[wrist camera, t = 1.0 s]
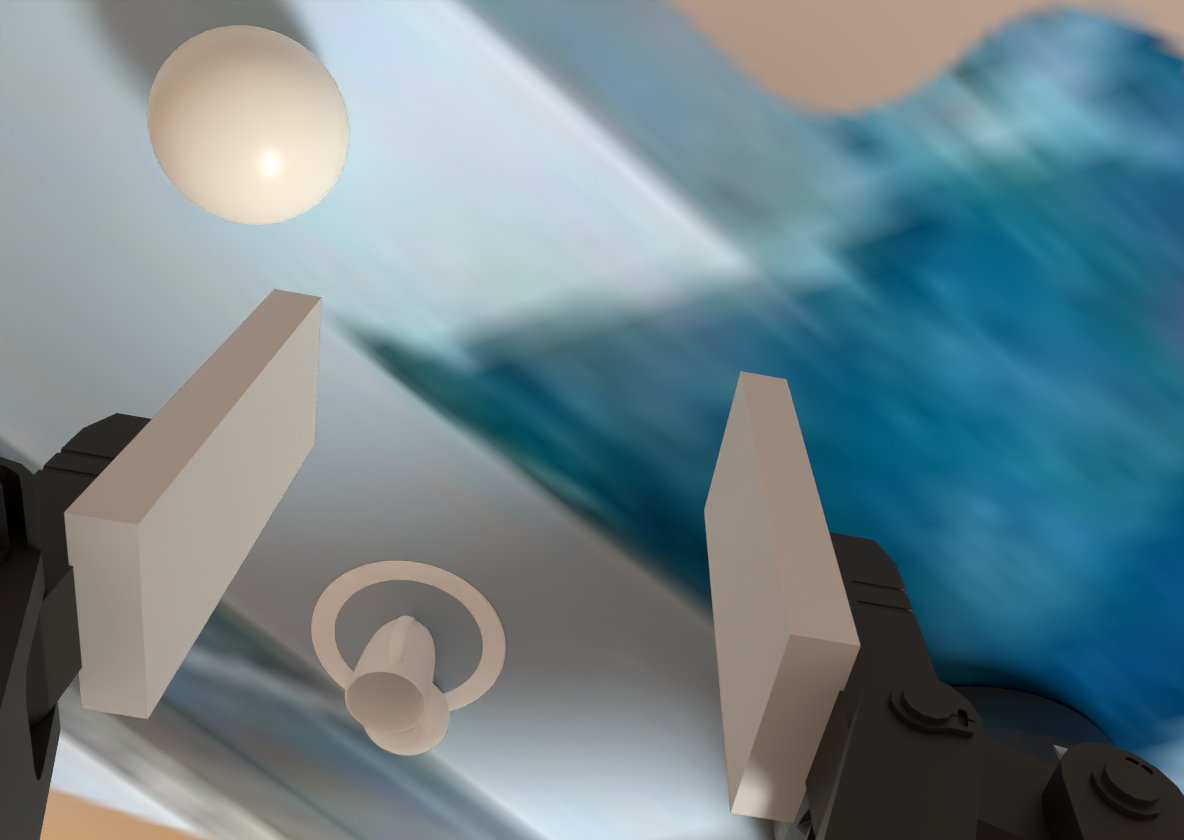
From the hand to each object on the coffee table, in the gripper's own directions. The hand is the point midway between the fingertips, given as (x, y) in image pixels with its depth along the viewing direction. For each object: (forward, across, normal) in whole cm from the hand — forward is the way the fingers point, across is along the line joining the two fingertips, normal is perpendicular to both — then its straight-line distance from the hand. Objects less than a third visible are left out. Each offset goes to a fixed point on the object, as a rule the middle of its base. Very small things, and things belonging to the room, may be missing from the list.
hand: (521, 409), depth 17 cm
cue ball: (+14, +10, 0) cm, 17 cm away
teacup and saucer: (+18, +6, +22) cm, 29 cm away
